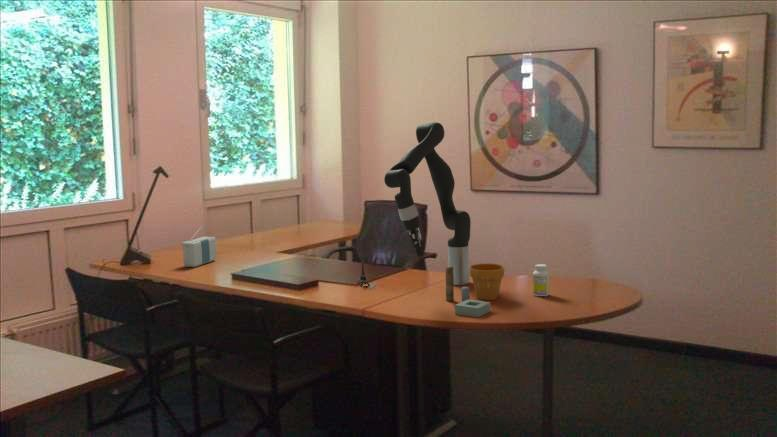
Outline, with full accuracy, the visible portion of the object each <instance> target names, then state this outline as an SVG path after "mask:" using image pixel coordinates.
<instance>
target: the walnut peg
mask: <svg viewBox="0 0 777 437" xmlns="http://www.w3.org/2000/svg"><path fill="white" fill-rule="evenodd" d="M454 286H455V285H454V279H453V267H452V266H448V265H447V266H445V301H446V302H454V300H455V297H454V296H455V295H454V294H455V291H454V290H455V287H454Z"/></svg>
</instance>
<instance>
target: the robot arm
mask: <svg viewBox="0 0 777 437" xmlns="http://www.w3.org/2000/svg"><path fill="white" fill-rule="evenodd" d="M415 135H416V139H417V142H418V143H417V144H416V145H415V146H413V147H412V148H410V149H409V150H408V151H406V152H405V153H404V154H403V156H402V158H401V159H400V160H399V161H398V162H396V164H394V165H393V166H392V167H391V168H389V169H388V170H387V172H386V173H385V174H384V177H383V178H384V183H385V185H386V187H388V188H389V189H394V188H399V189H400V190H399V192H397V193H396V194H395V195H394V201H395V204H396V207H397V210H398V216H399V218H400V220H401V224H402V227H403V229H404V230H405V231H409V237H410V240H411V242H412V246H413V248H414V249H415V250H416V254H417V257H422V256H423V255H424V253H423V250H424V248H425V246H424V244H423V240H422V234H421V229H420V226H421V225H422V222H421V221H422V220H421V218H420V215H419V212H418V209H417V207H416V204H415V201H414V199H413V195H412V184H411V183H412V180H411V174H412V173H413V172H414V171H415V170H416V168H417V167H418V166H419V164H420V163H421V162H422V161H423V159H425V162H426V165H427V167H428V171H429V173H430V177H431V180H432V183H433V186H434V189H435V192H436V196H437V200H438V203H439V207H440V212H441V216H442V217H441V218H442V221H443V223H444V226H445V227H446V228H447V229H448V230H450V231H454V233H453V234H454V236H453V237H451V238H449V239H448V240H447V266H452V267H453V279H454V286H464V285H468V284H469V282H470V262H469V243H470V242H469V241H470V238H471V223H472V222H471V216H470V215H469V213H468V211H465V210H457V208H456V207H455V203H454V201H453V195H454V190H455V185H456V182H455V178H454V176H453V172H452V169H451V167H450V165H449V164H448V163H447V162H446V161H445V160H444V159H443V158H442V157H441V156H440V155H439V154H438V152H437V151H436V149H435V148H436V147H437V146H439V144H440V143H441V142H442V141H443V140H444V137H445V128H444V126H443V124H442V123H439V122H437V121H435V122H427V123H426V122H425V123H421V124H419V125H417V126H416V130H415Z"/></svg>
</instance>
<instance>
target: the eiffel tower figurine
mask: <svg viewBox="0 0 777 437" xmlns="http://www.w3.org/2000/svg"><path fill="white" fill-rule="evenodd" d="M364 268H365V267H364V260H363V258H362V260H361V274H360V278H359V279H358V282H357V283H356V285H357V284H359V285H360V287H362V286H363V284H364V283H365V284H367V285H368V286H370V287H369V288H366V289H367V290H366V291H370V290H371V289H373V288H374V287H376V286H378V284H377V283H376V282H371V283H372V284H369V283H370V282H369V281H368V279H367V278H366V274H365V269H364ZM373 283H374V284H373ZM360 287H359V288H360Z"/></svg>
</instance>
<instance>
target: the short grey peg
mask: <svg viewBox="0 0 777 437" xmlns="http://www.w3.org/2000/svg"><path fill="white" fill-rule="evenodd" d="M470 290H471V289H470V287H469V286H462V287H461V302H463V301H465V300H467V299H469V300H471V299H470V298H471V297H470V293H471V292H470Z"/></svg>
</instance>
